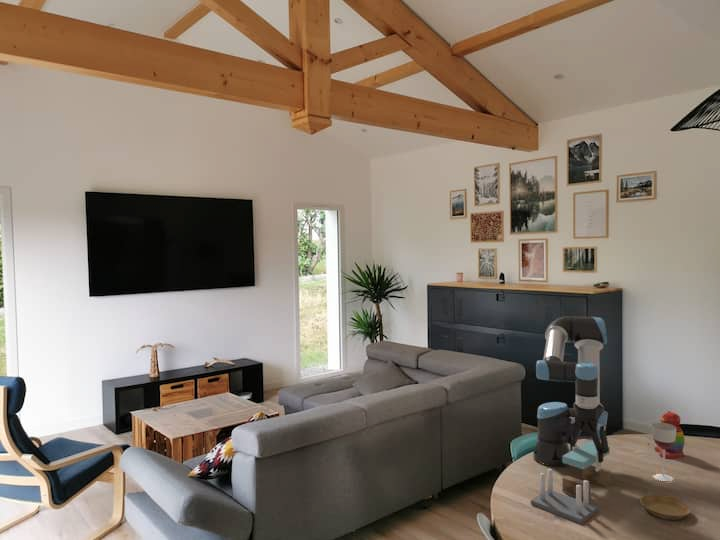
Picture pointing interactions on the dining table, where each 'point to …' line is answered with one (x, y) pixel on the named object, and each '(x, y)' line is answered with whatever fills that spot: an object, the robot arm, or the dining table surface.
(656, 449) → the stacking bear
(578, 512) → the peg stand
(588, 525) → the dining table surface
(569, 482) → the blocks
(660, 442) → the wineglass
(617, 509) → the dining table surface
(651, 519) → the dining table surface
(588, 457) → the shelf board
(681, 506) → the plant saucer
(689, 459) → the dining table surface
